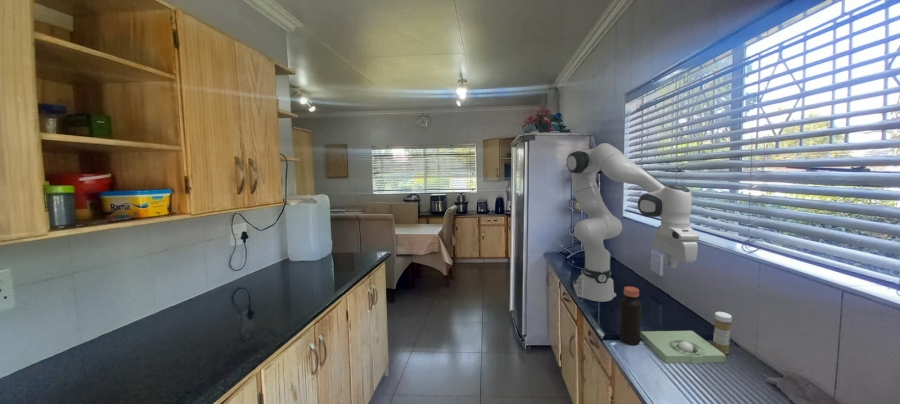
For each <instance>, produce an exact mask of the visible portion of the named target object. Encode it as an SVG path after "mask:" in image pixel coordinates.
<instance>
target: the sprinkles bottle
mask: <svg viewBox="0 0 900 404" xmlns="http://www.w3.org/2000/svg"><path fill="white" fill-rule="evenodd" d="M732 317H733V316H732V314H730V313H727V312H723V311H716V312H715V313H714V329H713V339H712V340H713V342H712V346H714V347H715V348H716V349H718V350H719V351H721V352H722V353H723V354H725V355H727V354H730V344H731V343H730V342H731V332H732V331H731V327H732V326H731V325H732V321H733V318H732Z"/></svg>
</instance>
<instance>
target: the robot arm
mask: <svg viewBox="0 0 900 404" xmlns="http://www.w3.org/2000/svg"><path fill="white" fill-rule="evenodd" d="M566 167H567V169H568V170H569V172H570V173H572V177H571V179H572V180H571V181H572V187H573V192H574V195H575V199H576V201H577V202H576V203H577V205H578V207H579V210H581V211H582V212H583V213H585V214H586V215H587V216H588V217H589V218H585V219H582V220H580V221H577V222H576V223H575V224H574V228H573V229H574V232H573V233H574V236H575V238H577V240H578V241H580V243H581V245H582V247H583V249H584V268H583V272H582V274H580V275H579V276H578V277H577V279H575V283H574V284H572V285H573V290H574V292H575V294H576V296H577V297H578V298H583V299H585V300H589V301H593V302H602V303H604V302H609V301H612V300H613V299H614V298H615V297H617V293H616V292H615V290H614V279H612V278H611V276H612V269H611V253H610V251H609V250H608V249H606V248H605V245H604V240H609V239H613V238H615V237H617V236H619V235H621V233H622V231H623V224H622V222H621V220H620V219H619V218H618V217H616V216H615V215H613V214H612V213H611V212H610V210H609V208H608V207H607V205H606V204H605V202H604V200H603V197H602V195H601V192H600V189H599V186H598V183H597V180H596V176H597V175H602V174H604V176H606V177H607V178H609V179H610V180H612V181H613V182H617V183H626V184H629V185H630V184H631V185H636V186H638V187H639V188H642V190H644V191H646V193H644V194H641V195H640V197H639V198H638V201H637V209H638V212H639V213H640V214H641V215H642V216H644V217H647V218H660V225H659V226H657V227H656V230H655V232H654V234H653V241H652V244H653V247H654V248H655V249H656V250H659V251H661V252H663V253H665V258H666V265H667V266H668V267H670V268H672V269H675V268H677V265H678V262H679V261H681V262H683V263H688V264H689V263H695V262H696V260H697V257H698V249H699V248H698V247H699V246H698V242H697V241H699V240H700V235H699V234H698V232H696V231H695V230H694V229H693V228H692V227H691V220H690V216H691V213H692V207H693V204H692V203H693V195H692V192H691V190H690V189H689V188H688V187H687V186H684V185H679V184H678V185H677V184H669V185H666V184H664V183H663V182H661V180H660V179H658V178H657V177H656V176H654V175H653V174H651V173H650V172H648V171H647V170H646V169H644V168H642V167H641V166H639V165H638V164H636V163H635V162H634V161H633V160H630V158H629V157H627V155H625V154H624V153H623V152H622V151H621V150H620V149H618V148H617V147H616V146H614V145H612V144H610V143H608V142H607V143H606V142H603V143H600V144H598V145H597V146H595V147H594V148H588V149H583V150H576V151H574V152H571V153H570V154H568V156H567V158H566Z"/></svg>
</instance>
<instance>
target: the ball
mask: <svg viewBox="0 0 900 404" xmlns="http://www.w3.org/2000/svg"><path fill="white" fill-rule="evenodd" d="M678 349H679V350H682V351H684V352H688V353H692V352H693V346H692V345H691V344H690V343H689V342H686V341H682V342H680V343H679V344H678Z"/></svg>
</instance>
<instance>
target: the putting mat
mask: <svg viewBox="0 0 900 404" xmlns="http://www.w3.org/2000/svg"><path fill="white" fill-rule="evenodd" d="M640 335H641V338H640V340H641V341H642V342H644V344H646V345H647V346H648V347H649V348H650V350H652V351H653V352H654V353H655V354H657V356H658V357H659V358H660V359H661V360H662V361H663V362H664V363H666V364H692V365H700V364H701V365H702V364H703V363H705V364H711V363H713V364H714V363H726V358H727V356H726V355H727V354H723V353H722V352H721V351H719V350H718V349H716V348H715V347H714V346H713V344H711V343H710V342H708V341H707V340H705V338H704V337H702V336H700V335H699V334H697V333H696V332H695V331H694V330H654V331H653V330H651V331H648V330H647V331H645V330H644V331H641V330H640ZM682 341H686V342H689V343H690V344H691V345H692V346H693V352H692V353H688V352H684V351H682V350H679V349H678V344H679V343H680V342H682Z"/></svg>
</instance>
